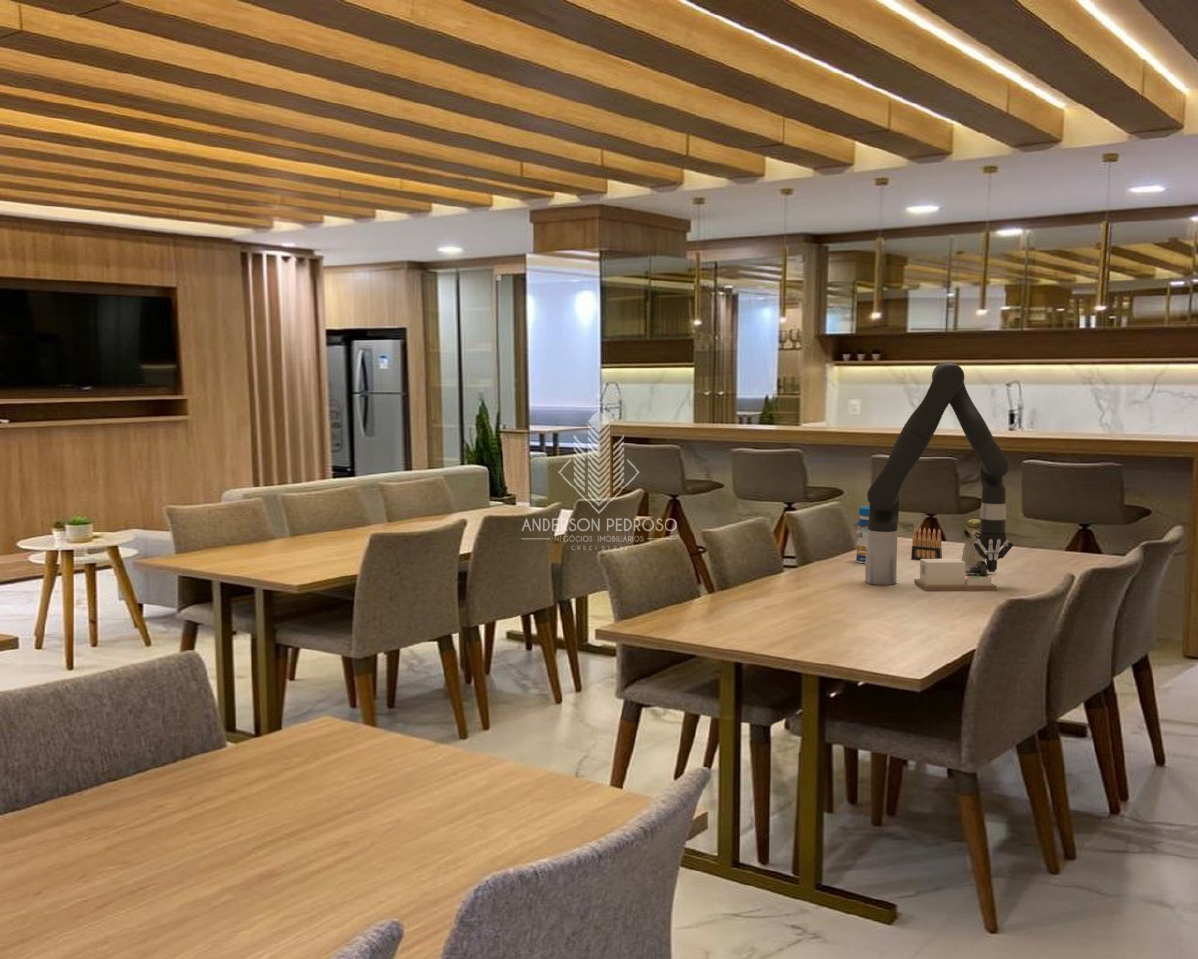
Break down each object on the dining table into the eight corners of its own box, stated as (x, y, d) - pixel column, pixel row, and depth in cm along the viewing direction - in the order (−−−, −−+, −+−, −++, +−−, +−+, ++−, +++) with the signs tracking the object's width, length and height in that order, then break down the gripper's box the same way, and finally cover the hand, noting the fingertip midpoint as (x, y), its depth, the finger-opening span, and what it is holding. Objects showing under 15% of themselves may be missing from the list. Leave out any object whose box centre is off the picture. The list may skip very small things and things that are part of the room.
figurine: (948, 573, 356) (949, 519, 354) (965, 567, 365) (967, 515, 363) (982, 577, 347) (983, 522, 346) (999, 572, 357) (1000, 518, 355)
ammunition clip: (911, 559, 383) (911, 527, 382) (912, 559, 385) (913, 526, 383) (940, 562, 377) (941, 529, 376) (941, 561, 378) (942, 528, 377)
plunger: (946, 581, 326) (946, 564, 326) (937, 577, 335) (938, 559, 334) (989, 581, 326) (990, 563, 326) (980, 576, 334) (980, 559, 334)
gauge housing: (925, 591, 326) (926, 564, 325) (914, 583, 338) (914, 557, 337) (996, 590, 326) (997, 563, 325) (982, 583, 338) (983, 557, 337)
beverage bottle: (880, 564, 373) (881, 508, 371) (856, 564, 375) (857, 508, 373) (879, 560, 381) (880, 506, 379) (855, 560, 383) (856, 505, 381)
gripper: (976, 519, 326) (974, 574, 328) (1018, 518, 326) (1017, 573, 328) (967, 515, 334) (966, 569, 335) (1009, 515, 334) (1007, 569, 335)
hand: (991, 571), depth 332 cm, fingers closed
